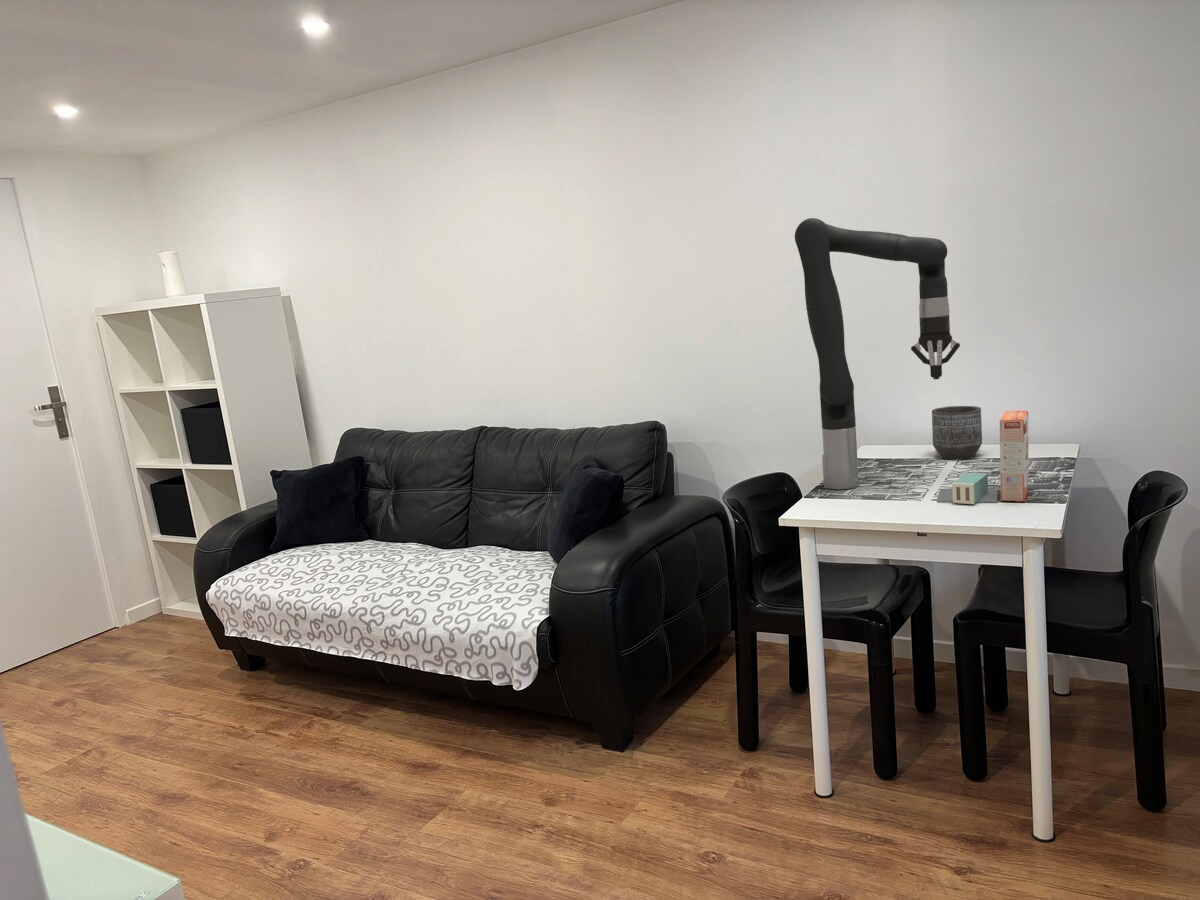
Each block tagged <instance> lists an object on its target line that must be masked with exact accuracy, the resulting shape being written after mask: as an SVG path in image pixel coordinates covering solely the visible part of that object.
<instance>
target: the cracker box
mask: <svg viewBox="0 0 1200 900" xmlns="http://www.w3.org/2000/svg"><path fill="white" fill-rule="evenodd" d="M1029 449H1030V448H1029V410H1005V411H1004V412H1003V414H1002V415H1001V417H1000V419H999V471H1000V473H999V475H1000V476H999V482H1000V483H999V484H1000V485H999V486H1000V498H999V499H1000V501H1001V502H1010V501H1015V503H1017V502H1018V503H1022V502H1023V503H1025V502H1026V497H1027V494H1028V491H1029Z"/></svg>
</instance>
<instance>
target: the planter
mask: <svg viewBox="0 0 1200 900" xmlns="http://www.w3.org/2000/svg"><path fill="white" fill-rule="evenodd" d="M931 417H932V418H931V422H932V423H931V425H932V426H931V427H932V445H933V448H934V449H935V452H937V454H938V456H940V457H942V459H944V458H946V459H945V460H950V459H961V460H968V459H967V458H969V459H972V457H973V458H974V457H975V456H976V455H977V453H978V452H979V450H980V448H981V446H982V444H983V434H982V433H983V432H982V408H981V407H980V406H976V405H956V406H955V405H951V406H950V405H949V406H942V407H939V408H938V407H936V408H934V409H932V410H931Z"/></svg>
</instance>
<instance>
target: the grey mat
mask: <svg viewBox="0 0 1200 900" xmlns="http://www.w3.org/2000/svg"><path fill="white" fill-rule="evenodd" d="M998 492H999V491H998V488H988V493H987V494H986V495H985V496H983V497H982V498H981V499H980V500H978V501H977V502H978V503H977V504H998ZM936 499H937V500H936V503H937V502H953V491H952V488H940V489H939V491H938V496H937V498H936ZM982 502H983V503H982Z"/></svg>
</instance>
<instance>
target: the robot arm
mask: <svg viewBox="0 0 1200 900" xmlns="http://www.w3.org/2000/svg"><path fill="white" fill-rule="evenodd" d="M794 243H795V245H796V247H797V251H798V254H799V259H800V261H801V265H802V271H803V277H804V279H803V280H804V281H803V282H804V297H805V307H806V314H807V319H808V320H807V321H808V325H809V330H810V333H811V338H812V341H813V345H814V348H815V351H816V355H817V361H818V368H819V369H818V371H819V400H820V401H819V402H820V418H821V419H820V421H821V431H822V434H821V435H822V446H823V447H822V448H823V449H822V450H823V455H822V456H821V458H822V459H821V460H822V477H823V480H822V481H823V488H824V489H830V490H849V489H855V488H857V487H859V485H860V484H859V483H860V481H859V478H860V477H859V465H858V444H857V442H858V441H857V425H856V410H855V409H856V408H855V393H854V392H855V391H854V390H855V385H854V381H853V378H852V376H851V373H850V369H849V365H848V360H847V355H846V350H845V346H846V344H845V343H846V342H845V327H844V326H845V325H844V324H845V323H844V316H843V315H844V314H843V311H842V310H843V308H842V304H841V298H840V294H839V289H838V287H837V283H836V280H835V277H834V274H833V270H832V265H831V254H830V252H831V253H832V252H834V253H846V254H852V255H857V256H863V257H868V258H872V259H878V260H885V261H891V262H907V263H913V264H917V267H918V275H919V286H918V288H919V289H918V291H919V292H918V293H919V303H918V304H919V305H918V306H919V307H918V310H919V311H918V314H919V316H918V317H919V338H918V342H917V343H915V344H914V345H912V346H911V347H910V350H911V351H912V353H913V354H914V355H916V357H917V358H918V359H919V360H920V361H921V362H922V363H923V364H924V365H929V369H930V370H929V371H930V377H931V378H932V379H933V380H940V378H941V377H942V376H943V364H946V363H948V362H950V360H951V358H952V357H953V356H954V355H955V353H956V352H957V350H958V349H959V348H960V346H961V343H960V342H957V341H955V340H953V336H952V334H951V325H950V313H951V312H950V311H951V310H950V304H949V302H950V301H949V297H948V280H947V277H946V260H945V259H946V258H947V256H948V247H947V244H946V243H945V242H944V241H942V240H941V239H938V238H933V237H923V236H921V237H920V236H909V235H906V234H900V233H899V234H898V233H894V232H893V233H892V232H885V231H872V230H854V229H847V228H842V227H836V226H834V225H831V224H827V223H826V222H824V221H823V220H821V219H820V218H817V217H816V218H815V217H811V218H809V217H808V218H807V219H803V221H801V222H800V223H799V224H798V225H797V227H796V229H795V231H794ZM949 345H950V346H949ZM921 347H922V348H923V349H924V350H925V352H926V353H928V358H927V357H926V355H925V354H924V353H923V352H922V351H921V350H922V348H921ZM948 347H949V348H950V351H949V352H948V353H947V354H946V356H945V357H944V358H943V352H945V351H946V349H947V348H948ZM935 353H936V357H935Z"/></svg>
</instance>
